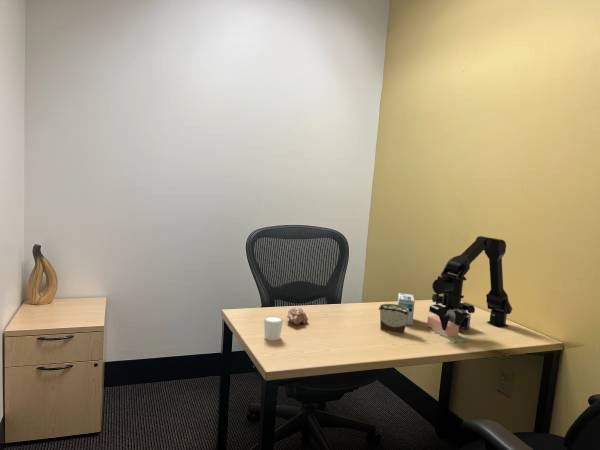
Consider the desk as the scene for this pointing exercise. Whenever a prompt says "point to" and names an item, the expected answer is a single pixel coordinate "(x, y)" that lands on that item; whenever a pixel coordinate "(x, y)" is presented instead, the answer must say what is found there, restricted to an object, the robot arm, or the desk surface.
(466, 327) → the dispenser
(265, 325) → the white cylinder
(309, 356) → the desk surface
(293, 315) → the mineral specimen
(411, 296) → the light bulb box
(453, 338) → the green block
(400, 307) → the food container
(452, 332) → the pink block
